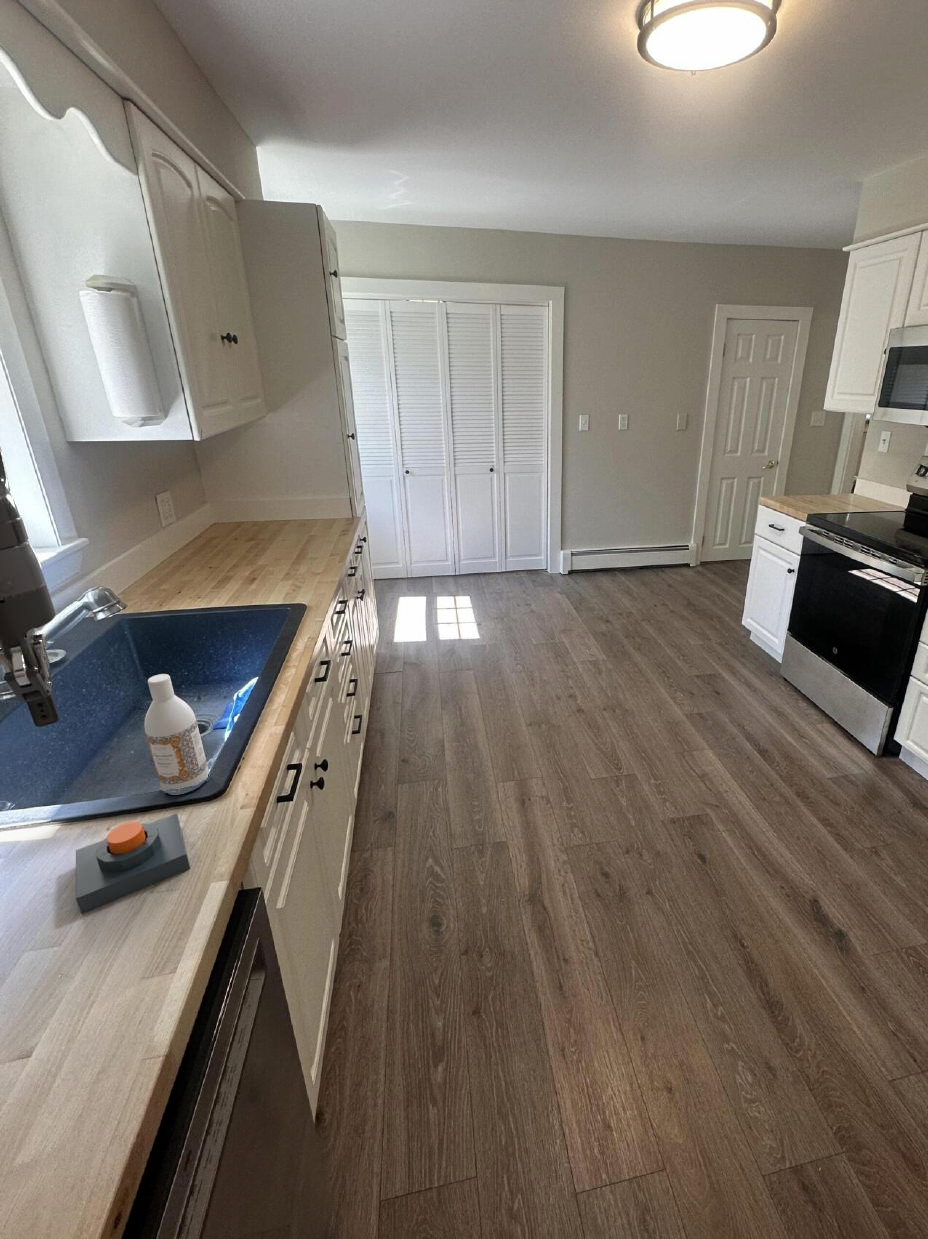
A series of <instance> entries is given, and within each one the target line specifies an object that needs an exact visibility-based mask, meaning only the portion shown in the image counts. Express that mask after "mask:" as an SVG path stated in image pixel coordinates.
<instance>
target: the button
mask: <svg viewBox="0 0 928 1239" xmlns="http://www.w3.org/2000/svg"><path fill="white" fill-rule="evenodd" d="M142 824H143V823H141V822H138V821H129V822H125V823H123V824H120V825H118V826H116V827H114V828H113V829H112V830H110V831H109V832H108V834H107V835H106V837H105V838H106V840H107V843H108V846H109V849H110V852H111V853H112V854H114V855H121V854H125V853H128V852H130V851H133V850H135V849H136V848H138V847H139V846H141V845H142V844H143V843H144V842H145V839H146V837H145V833H144V830H143V827H142Z"/></svg>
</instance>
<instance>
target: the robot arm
mask: <svg viewBox="0 0 928 1239" xmlns="http://www.w3.org/2000/svg"><path fill="white" fill-rule="evenodd" d="M55 618H56V610H55V606H54V604H53V600H52V597H51V594H50V592H49V589H48V585H47V582H46V579H45V576H44V573H43V570H42V566H41V563H40V561H39V558H38V556H37V553H36V552H35V550H34V547H33V546H32V544H31V542H30V540H29V536H28V533H27V530H26V527H25V524H24V520H23V517H22V514H21V512H20V509H19V507H18V504H17V502H16V500H15V498H14V496H13V494H12V491H11V487H10V484H9V478H8V474H7V470H6V465H5V460H4V456H3V452H2V448H1V447H0V665H1V666H2V667H3V668H4V671H5V673H4V676H3V680H4V681H5V682H6V684H7V685H8V686H9V689H11V691H12V692H13V694H14V695H15V697H16V698H17V700H18V701H19V702H20V704H22V703H26V705H27V708H28V711H29V713H30V717H31V719H32V722H33V724H34V726H35V727H37V728H41V727H45V726H49V725H52V724H56V723H57V722H59V718H60V713H59V710H58V707H57V704H56V700H55V698H54V695H53V690H52V687H53V682H52V681H51V678H52V677H51V676H52V672H51V671H50V669H51V663H50V662H51V661H50V659H49V657H48V652H47V650H46V647H47V641H46V637H45V635H44V633H43V632H36V631H35V629H39V628H41V627H44V626H45V625H48V624H49V623H51V622H52V621H53V620H54V619H55Z"/></svg>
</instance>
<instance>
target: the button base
mask: <svg viewBox="0 0 928 1239" xmlns="http://www.w3.org/2000/svg"><path fill="white" fill-rule="evenodd" d="M141 824H142V827H143V830H144V833H145V837H146V839H145V842H144V843H143V844H142V845H141V846H139V847H138V848H136V849H135V850H133V851H130V852H128V853H125V854H121V855H114V854H112V853H111V852H110V849H109V846H108V843H107V840H106V838H107V837H105V838H104V839H103V840H100V841H97V842H94V843H92V844H89V845H86V846H83V847H80V848H78V849H76V850H75V900H76V903H77V906H78V908H79V911H80V913H81V915H84V914H87V913H89V912H91V911H94V910H96V909H98V908H101V907H103V906H105V905H108V904H110V903H113V902H115V901H117V900H120V899H122V898H124V897H127V896H130V895H132V894H134V893H137V892H139V891H142V890H144V889H146V888H148V887H151V886H153V885H156V884H158V883H160V882H163V881H165V880H168V879H170V878H173V877H175V876H176V875H180V874H182V873H184V872H187V871H189V870H191V865H190V862H189V861H190V860H189V857H188V852H187V848H186V844H185V839H184V835H183V831H182V827H181V823H180V819H179V815H178V813H177V812H176V813H174V814H170V815H168V816H165V817H163V818H160V819H157V820H155V821H152V822H149V823H148V822H147V823H141Z"/></svg>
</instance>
